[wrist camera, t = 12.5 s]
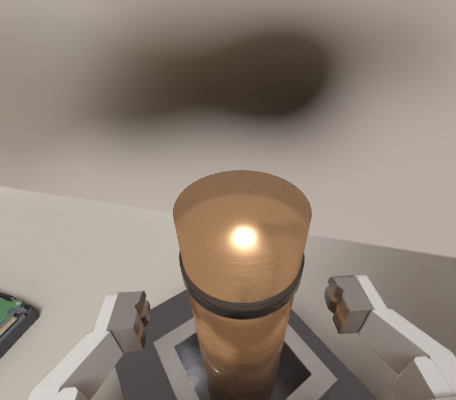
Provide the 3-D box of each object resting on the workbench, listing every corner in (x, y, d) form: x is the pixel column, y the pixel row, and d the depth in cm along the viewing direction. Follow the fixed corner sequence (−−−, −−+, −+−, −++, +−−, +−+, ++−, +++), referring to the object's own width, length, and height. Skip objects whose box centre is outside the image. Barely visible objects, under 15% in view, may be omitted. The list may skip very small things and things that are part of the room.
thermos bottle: (287, 395, 17) (347, 214, 8) (231, 447, 15) (219, 291, 6) (246, 337, 20) (252, 158, 11) (195, 375, 18) (148, 195, 9)
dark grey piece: (416, 458, 16) (463, 437, 12) (230, 753, 10) (226, 861, 6) (242, 266, 28) (243, 230, 25) (111, 343, 22) (89, 307, 18)
